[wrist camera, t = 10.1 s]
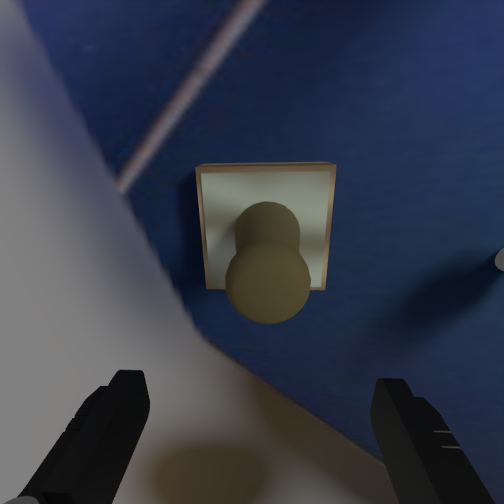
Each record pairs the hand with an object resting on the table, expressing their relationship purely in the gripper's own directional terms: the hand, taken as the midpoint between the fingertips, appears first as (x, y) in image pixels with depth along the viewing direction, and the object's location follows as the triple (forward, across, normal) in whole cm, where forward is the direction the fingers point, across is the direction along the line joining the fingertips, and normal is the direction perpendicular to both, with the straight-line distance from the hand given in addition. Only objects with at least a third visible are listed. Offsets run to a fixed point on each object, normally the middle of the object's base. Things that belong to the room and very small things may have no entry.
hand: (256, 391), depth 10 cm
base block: (+21, 0, 0) cm, 21 cm away
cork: (+18, 0, 0) cm, 18 cm away
